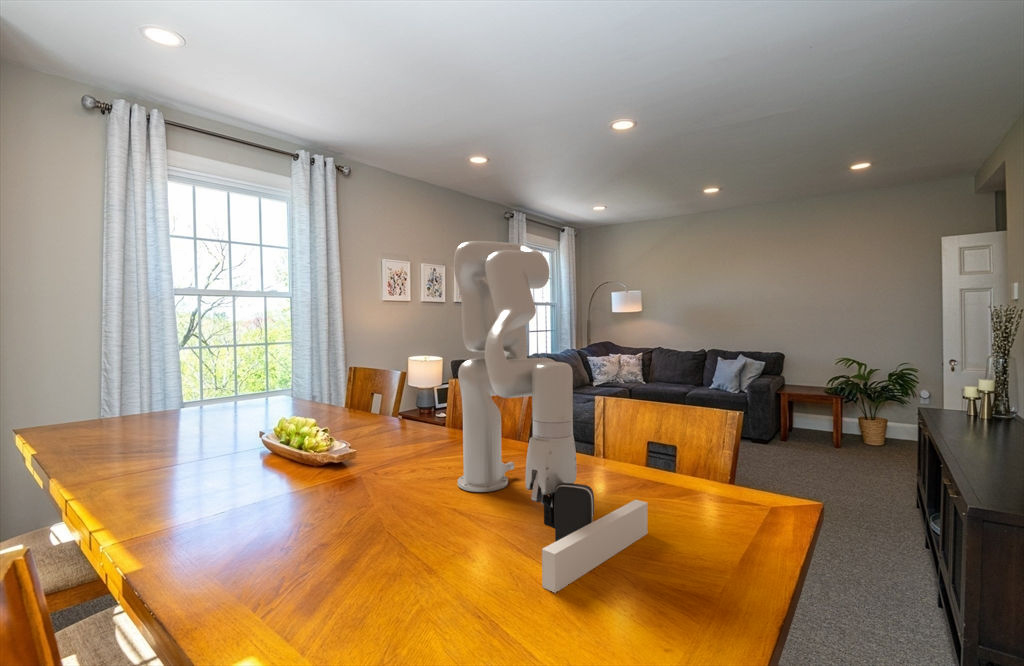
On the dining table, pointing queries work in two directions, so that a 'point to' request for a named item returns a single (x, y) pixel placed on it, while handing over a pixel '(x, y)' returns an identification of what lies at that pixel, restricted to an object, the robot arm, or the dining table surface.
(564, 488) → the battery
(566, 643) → the dining table surface
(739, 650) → the dining table surface
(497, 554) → the dining table surface
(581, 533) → the board
